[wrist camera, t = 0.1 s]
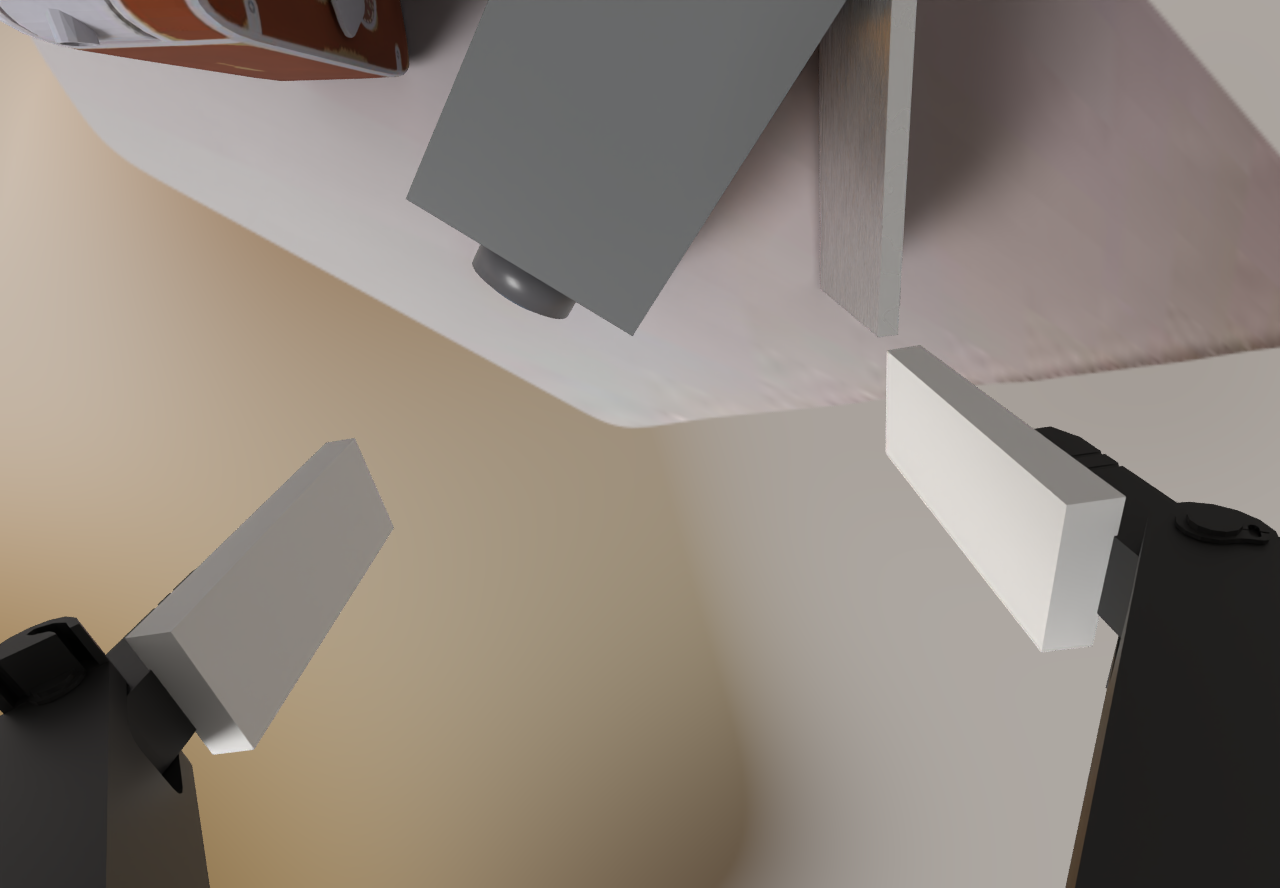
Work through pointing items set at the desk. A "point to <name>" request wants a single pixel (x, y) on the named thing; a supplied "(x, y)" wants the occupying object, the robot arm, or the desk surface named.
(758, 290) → the desk surface
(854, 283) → the side door
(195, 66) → the cine camera
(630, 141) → the grey cabinet with knob
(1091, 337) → the desk surface
